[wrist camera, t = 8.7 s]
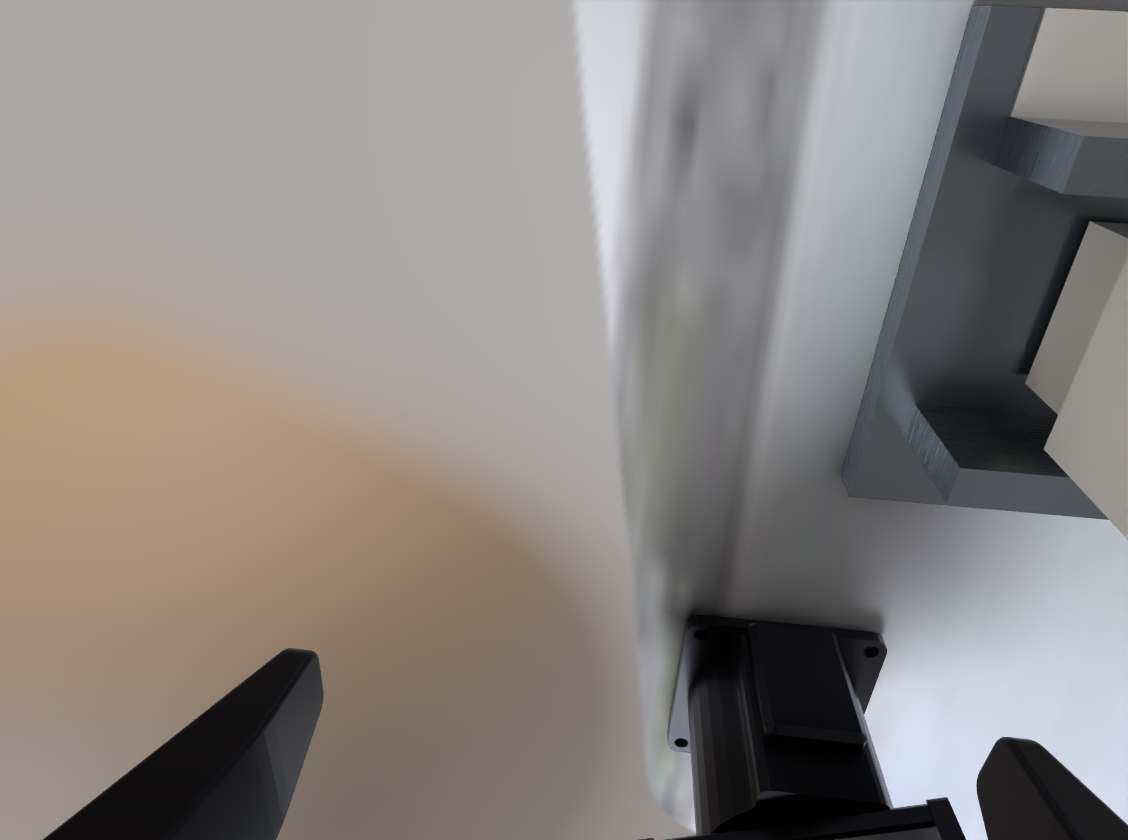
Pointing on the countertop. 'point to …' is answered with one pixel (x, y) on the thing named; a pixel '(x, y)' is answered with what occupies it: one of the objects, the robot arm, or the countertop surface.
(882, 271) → the countertop surface
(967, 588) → the countertop surface
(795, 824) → the robot arm
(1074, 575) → the countertop surface
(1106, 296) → the off-white rectangular block
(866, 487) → the bench
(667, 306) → the countertop surface
